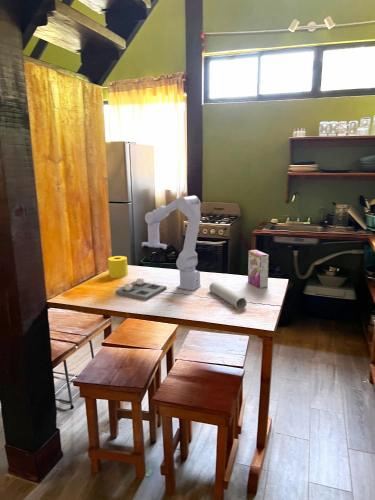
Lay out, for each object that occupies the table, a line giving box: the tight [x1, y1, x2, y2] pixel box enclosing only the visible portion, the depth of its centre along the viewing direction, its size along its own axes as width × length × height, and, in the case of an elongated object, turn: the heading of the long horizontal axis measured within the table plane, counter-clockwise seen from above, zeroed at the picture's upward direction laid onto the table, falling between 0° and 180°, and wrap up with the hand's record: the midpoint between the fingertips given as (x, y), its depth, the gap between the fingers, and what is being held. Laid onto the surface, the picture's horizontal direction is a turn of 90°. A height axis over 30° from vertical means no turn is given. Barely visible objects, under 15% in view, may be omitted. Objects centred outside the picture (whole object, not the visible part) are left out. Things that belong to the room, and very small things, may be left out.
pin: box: [124, 283, 132, 293], centre depth 166 cm, size 3×3×4 cm
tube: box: [209, 281, 248, 311], centre depth 157 cm, size 5×5×25 cm
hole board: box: [114, 280, 167, 301], centre depth 168 cm, size 18×16×2 cm
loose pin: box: [136, 278, 145, 287], centre depth 173 cm, size 3×3×4 cm
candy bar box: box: [247, 249, 270, 289], centre depth 174 cm, size 11×5×16 cm, turn 22°
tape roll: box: [107, 255, 129, 279], centre depth 193 cm, size 10×10×9 cm
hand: (154, 260), depth 186 cm, fingers open, 7 cm apart
